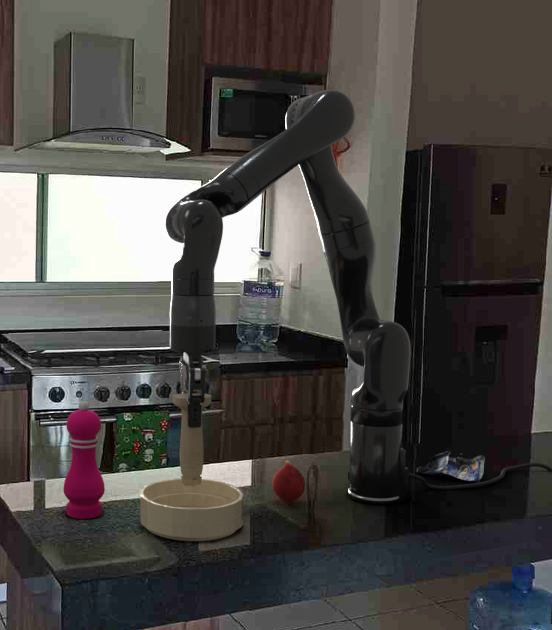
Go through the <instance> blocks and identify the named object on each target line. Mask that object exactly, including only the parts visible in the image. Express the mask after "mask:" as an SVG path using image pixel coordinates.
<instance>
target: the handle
mask: <svg viewBox="0 0 552 630" xmlns="http://www.w3.org/2000/svg"><path fill="white" fill-rule="evenodd" d="M193 395H199V392H198V393H192V396H193ZM204 398H205V401H204V403H203V405H202V407H201V427H199V428H190V427H188V425H187V411H188V405H187V402H186V400H187V393H185V394H182V393H178V394H173V395H172V404H173V405H175V406H176V407H177V408H179V409H180V410H181V425H180V426H181V428H180V440H179V441H180V442H179V466H180V467H179V468H180V472H181V476H180V479H181V480H182V483H183V484H184V485H185V486H196V485H200V484H201V480H202V479H203V476H202V474H203V468H204V455H205V454H204V453H205V452H204V449H205V448H204V433H203V410H204V409H205V408H206V407H208V406H210V405H211V404H212V395H211V394H208V393H205V397H204Z"/></svg>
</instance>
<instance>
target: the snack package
mask: <svg viewBox="0 0 552 630" xmlns="http://www.w3.org/2000/svg"><path fill="white" fill-rule="evenodd" d="M451 453H452V452H451V451H450V450H445V451H444V452H439V453H436V454H434V455H433V456H431V458H430V460H429V462H428V463H427V464H425V466H418V467H417V468H416V473H417V474H418V475H419V474H420V475H421V474H425V475H432V476H447V477H451V478H455V479H458V480H461V481H465V482H475V483H480V482H481V479H482V478H483V475H484V469H485V461H486V460H485V457H486V456H484V455H483V454H479V455H477V456H474V457H473V458H464V457H461V456H462V455H463V453H460V456H458V457H452V456H451ZM449 455H450V456H449Z"/></svg>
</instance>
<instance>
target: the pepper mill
mask: <svg viewBox="0 0 552 630" xmlns="http://www.w3.org/2000/svg"><path fill="white" fill-rule="evenodd" d="M89 407H90V405H89V402H88V401H86V400H82V401H80V402H79V403H78V409H77V410H74V411H72V412H71V413H70V414H69V415H68V417H67V420H66V430H67V432H68V433H69V435H70V437H69V446H70V448H71V462H70V466H69V469H68V471H67V474H66V476H65V479H64V483H63V490H62V491H63V495H64V496H65V498H66V499H67V500H68V502H66V504H65V505H66V506H65V507H66V510H65V511H66V516H68V517H69V518H73V519H76V520H78V519H79V520H85V519H86V520H87V519H93V518H98V517H99V516H101V515H102V514H103V503H102V501H100V500H101V499H102V497H103V496H104V494H105V491H106V489H105V482H104V478H103V475H102V473H101V471H100V470H99V466H98V462H97V456H96V453H97V452H96V450H97V447H98V446H99V437H98V436H97V435H98V434H99V433H100V431H101V429H102V421H101V417H100V416H99V415H98V413H97V412H96V411H94V410H91V409H89Z"/></svg>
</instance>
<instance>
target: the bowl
mask: <svg viewBox="0 0 552 630" xmlns="http://www.w3.org/2000/svg"><path fill="white" fill-rule="evenodd" d="M244 497H245V495H244V492H243V491H242V489H240V488H239V487H237V486H235V485H234V484H230V483H228V482H227V483H226V482H224V481H219V480H215V479H214V480H213V479H207V478H202V480H201V484H200V485H196V486H185V485H184V484H183V483H182V480H181V478H172V479H165V480H164V479H163V480H159V481H154V482H151V483H148V484H146V485H145V486H143V487H142V488H141V489H140V490H139V520H140V521H139V522H140V524H141V526H143V527H144V528H145V529H146V530H148V531H149V532H150V533H151V534H154V535H156V536H158V537H161V538H163V539H164V538H165V539H168V540H174V541H184V542H206V541H214V540H219V539H223V538H226V537H229V536H231V535H233V534H235V533H236V532H237V531H238V530H239V529H240V528H242V526H243V524H244V508H245V507H244V504H245V503H244V499H245V498H244Z"/></svg>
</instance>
